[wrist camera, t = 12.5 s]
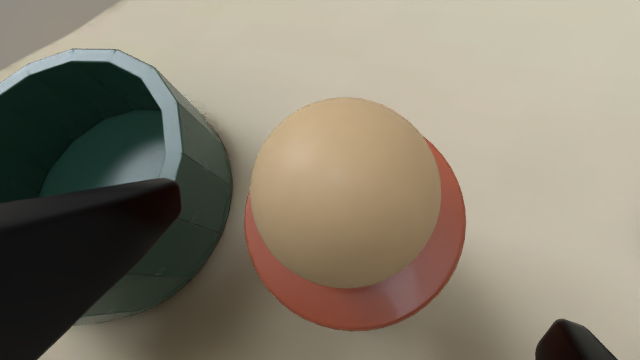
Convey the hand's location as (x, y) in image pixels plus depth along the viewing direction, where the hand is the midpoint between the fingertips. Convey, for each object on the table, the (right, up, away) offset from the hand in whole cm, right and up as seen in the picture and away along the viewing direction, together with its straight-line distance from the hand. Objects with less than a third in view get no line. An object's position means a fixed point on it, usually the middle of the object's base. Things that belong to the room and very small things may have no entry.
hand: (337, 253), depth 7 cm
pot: (-11, +1, +11) cm, 16 cm away
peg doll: (+2, -2, +8) cm, 8 cm away
